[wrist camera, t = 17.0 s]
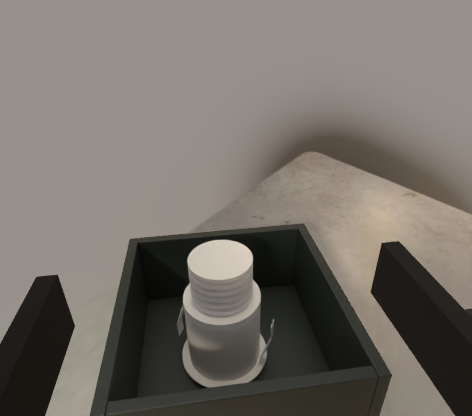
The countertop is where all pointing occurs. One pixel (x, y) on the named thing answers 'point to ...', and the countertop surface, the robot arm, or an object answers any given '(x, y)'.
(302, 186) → the countertop surface
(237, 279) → the downlight
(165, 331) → the dark grey open box
